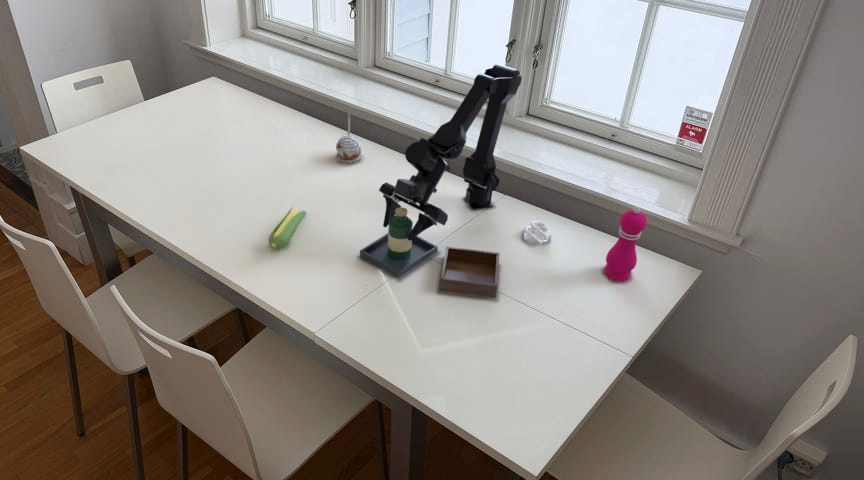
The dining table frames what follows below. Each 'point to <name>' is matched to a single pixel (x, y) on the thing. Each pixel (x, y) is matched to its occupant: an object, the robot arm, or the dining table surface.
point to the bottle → (399, 235)
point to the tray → (380, 258)
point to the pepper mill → (625, 246)
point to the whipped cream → (537, 232)
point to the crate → (470, 272)
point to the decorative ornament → (348, 147)
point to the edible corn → (285, 229)
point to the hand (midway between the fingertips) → (396, 233)
